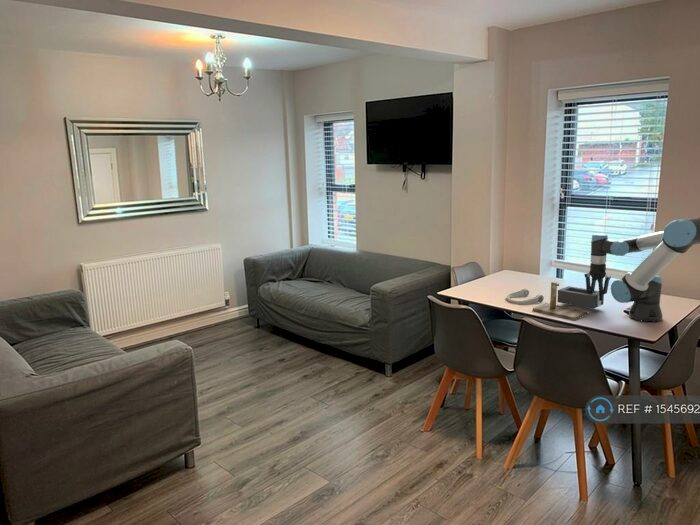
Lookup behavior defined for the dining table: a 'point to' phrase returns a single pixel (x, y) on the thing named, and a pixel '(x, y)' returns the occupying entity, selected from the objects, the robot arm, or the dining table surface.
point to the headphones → (524, 293)
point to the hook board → (558, 307)
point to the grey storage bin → (578, 297)
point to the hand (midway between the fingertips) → (595, 305)
